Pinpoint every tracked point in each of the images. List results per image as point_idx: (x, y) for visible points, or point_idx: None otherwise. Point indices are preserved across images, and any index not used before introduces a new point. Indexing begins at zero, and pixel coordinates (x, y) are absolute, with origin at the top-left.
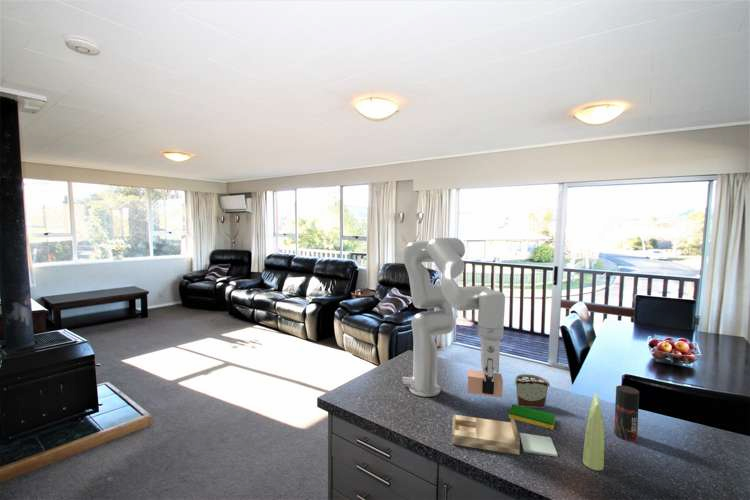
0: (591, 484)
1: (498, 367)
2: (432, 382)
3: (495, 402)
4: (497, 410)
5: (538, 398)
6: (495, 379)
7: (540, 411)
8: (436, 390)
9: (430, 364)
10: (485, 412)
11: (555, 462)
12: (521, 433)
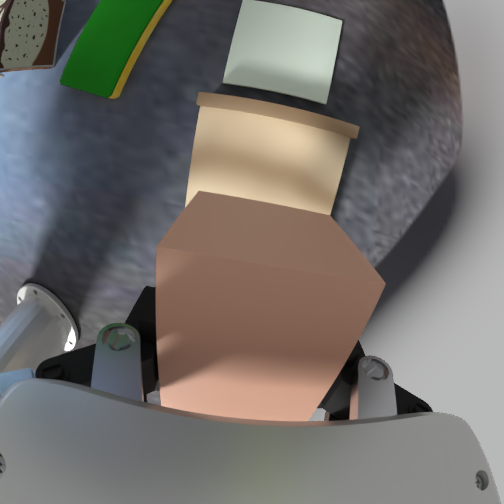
0: (430, 23)
1: (488, 464)
2: (41, 325)
3: (40, 133)
4: (79, 130)
5: (45, 9)
6: (350, 348)
7: (102, 2)
8: (44, 298)
9: (20, 368)
10: (96, 171)
11: (366, 42)
12: (227, 76)
